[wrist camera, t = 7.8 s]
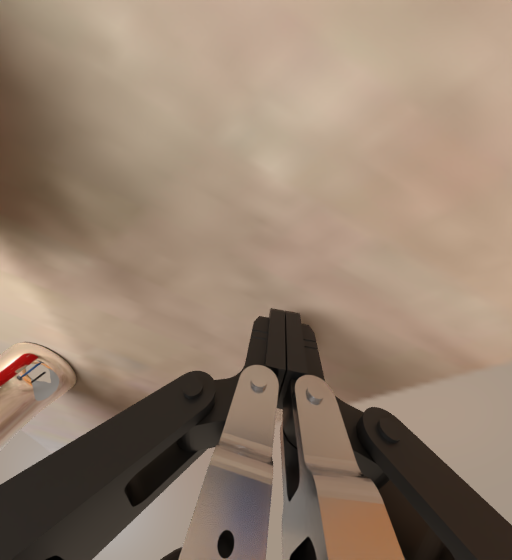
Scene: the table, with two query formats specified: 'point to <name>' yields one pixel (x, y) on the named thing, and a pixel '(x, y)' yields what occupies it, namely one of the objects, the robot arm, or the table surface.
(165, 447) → the robot arm
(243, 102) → the table surface
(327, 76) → the table surface
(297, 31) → the table surface
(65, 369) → the beer glass
